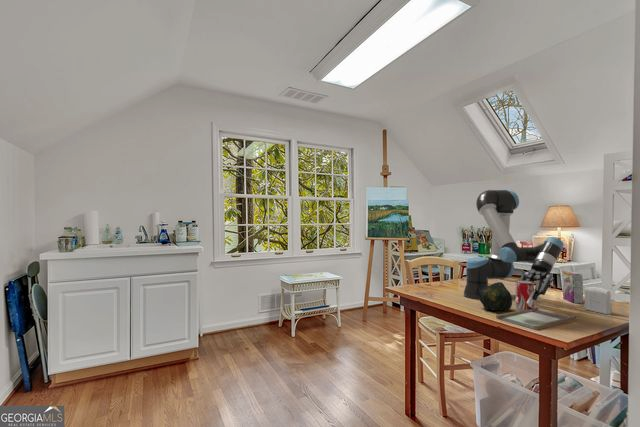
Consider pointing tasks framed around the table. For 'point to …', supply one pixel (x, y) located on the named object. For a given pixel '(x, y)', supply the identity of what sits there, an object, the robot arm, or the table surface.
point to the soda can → (524, 295)
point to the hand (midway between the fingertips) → (522, 303)
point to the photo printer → (598, 300)
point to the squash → (496, 297)
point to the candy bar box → (572, 287)
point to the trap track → (534, 319)
